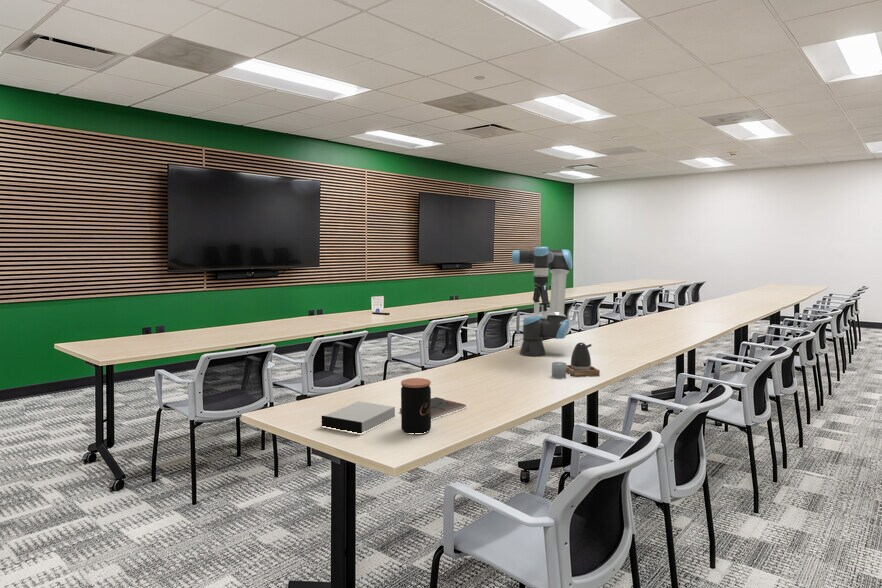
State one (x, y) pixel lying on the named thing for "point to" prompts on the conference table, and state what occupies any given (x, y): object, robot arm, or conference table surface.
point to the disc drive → (358, 417)
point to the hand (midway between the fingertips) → (540, 315)
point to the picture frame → (443, 407)
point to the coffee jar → (415, 405)
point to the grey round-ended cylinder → (558, 370)
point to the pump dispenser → (581, 357)
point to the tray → (582, 372)
